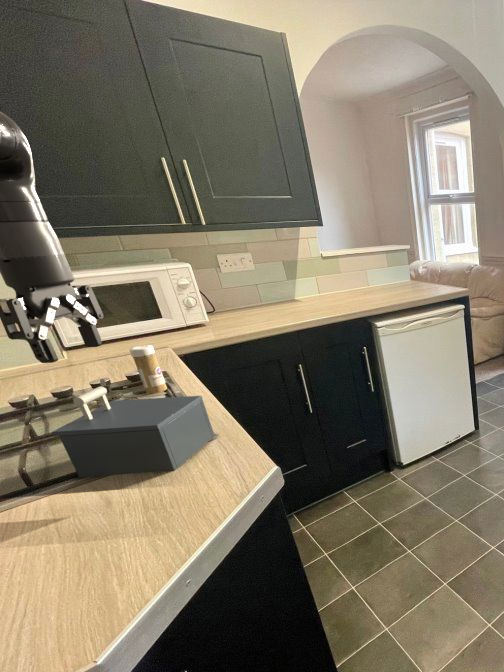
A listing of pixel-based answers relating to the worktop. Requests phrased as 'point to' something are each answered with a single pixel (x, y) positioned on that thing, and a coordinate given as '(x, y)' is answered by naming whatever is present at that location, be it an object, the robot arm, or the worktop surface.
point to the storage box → (140, 446)
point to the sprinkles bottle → (148, 369)
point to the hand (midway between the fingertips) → (73, 354)
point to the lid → (124, 414)
